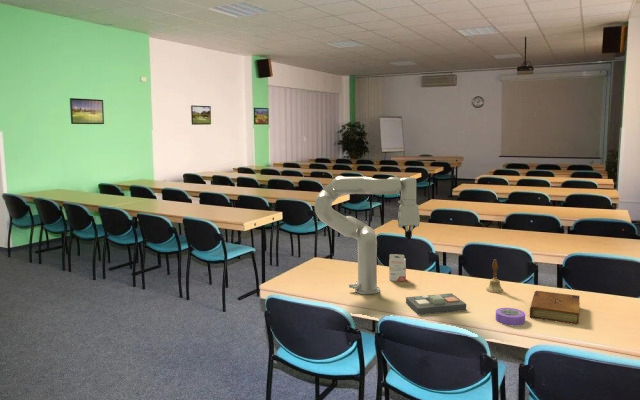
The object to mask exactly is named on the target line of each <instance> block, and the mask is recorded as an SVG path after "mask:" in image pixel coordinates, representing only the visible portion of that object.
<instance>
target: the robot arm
mask: <svg viewBox="0 0 640 400" xmlns="http://www.w3.org/2000/svg"><path fill="white" fill-rule="evenodd" d="M398 193H400V199H399V200H398V201H397V203H398V204H399V207H398V212H397V213H398V214H397V223H398V224H397V227H398V228H400V229H403V230H404V238H405V239H407V240H411V239H412V235H413V230H414V229H415V228H417V227H419V226H420V222H421V221H420V219H421V218H420V209H419V204H417V179H416V178H415V177H411V176H409V177H408V176H407V177H406V176H405V177H399V176H398V177H397V176H390V177H388V178H373V177H369V176H343V175H338V176H335V178H333V179H332V181H330V182H329V183H328V184H327V185H326V186H324V188H323V189H321V190H320V192H319V193H318V194H317V195H316V197H315V199H314V213H315V215H316V217H317V218H318V219H319V220H320V221H321V222H322V223H324V224H325V225H326V226H328V227H330V228H332V230H335V231H336V232H337V233H340V235H342V236H344V237H346V238H353V239H355V240H356V241H357V245H356V246H357V281H356V282H355V283H349V284H348V288H350V289H354V291H355V293H358V294H360V295H367V296H368V295H376V294H378V293H380V291H381V288H380V286H378V285H377V284H378V282H377V281H378V280H377V279H378V278H377V277H378V276H377V274H378V273H377V272H378V271H377V270H378V267H377V265H378V264H377V260H378V259H377V257H378V256H377V255H378V254H377V252H378V251H377V250H378V249H377V248H378V239H377V234H376V232H375V230H374V229H373V228H372V227H370V226H369V225H368V224H366V223H364V222H363V221H361V220H359V219H357V218H356V217H354V216H351V215H346V216H345V215H343V214H342V213H341V212H339V211H337V210H335V209H334V208H333V207H332V204H333V203H334V202H335V201H336V200H337V199H338V198H339V197H340V196H341V195H356V194H357V195H396V194H398Z"/></svg>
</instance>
